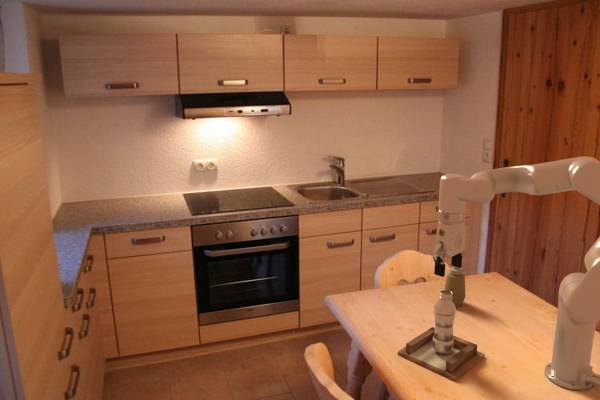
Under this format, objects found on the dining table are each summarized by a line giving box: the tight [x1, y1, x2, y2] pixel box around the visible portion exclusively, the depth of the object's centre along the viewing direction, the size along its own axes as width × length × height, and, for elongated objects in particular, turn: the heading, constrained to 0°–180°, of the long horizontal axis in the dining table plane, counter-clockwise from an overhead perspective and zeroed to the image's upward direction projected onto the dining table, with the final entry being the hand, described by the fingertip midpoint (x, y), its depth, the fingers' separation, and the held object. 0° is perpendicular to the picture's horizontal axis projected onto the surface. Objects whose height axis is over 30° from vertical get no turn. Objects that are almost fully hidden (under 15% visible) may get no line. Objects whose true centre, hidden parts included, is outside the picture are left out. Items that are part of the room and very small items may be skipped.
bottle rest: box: [397, 326, 486, 382], centre depth 155 cm, size 20×18×4 cm
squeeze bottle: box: [444, 266, 467, 308], centre depth 188 cm, size 8×8×18 cm
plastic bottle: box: [432, 289, 457, 354], centre depth 153 cm, size 6×7×20 cm
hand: (448, 270), depth 149 cm, fingers open, 9 cm apart
